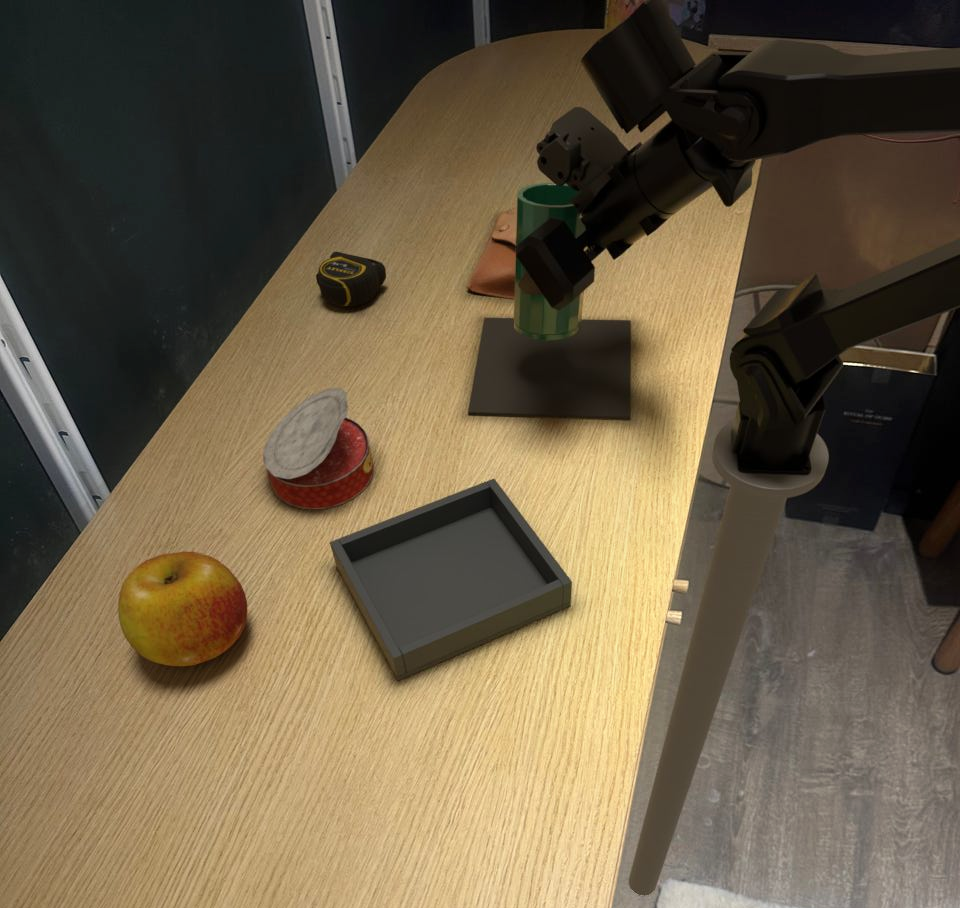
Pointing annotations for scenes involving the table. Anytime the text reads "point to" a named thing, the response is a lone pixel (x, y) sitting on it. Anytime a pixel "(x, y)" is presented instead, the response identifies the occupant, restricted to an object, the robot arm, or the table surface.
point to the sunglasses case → (497, 260)
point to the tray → (450, 577)
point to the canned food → (318, 453)
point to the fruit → (182, 608)
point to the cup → (528, 309)
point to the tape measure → (349, 279)
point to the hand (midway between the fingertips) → (543, 269)
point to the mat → (554, 372)
